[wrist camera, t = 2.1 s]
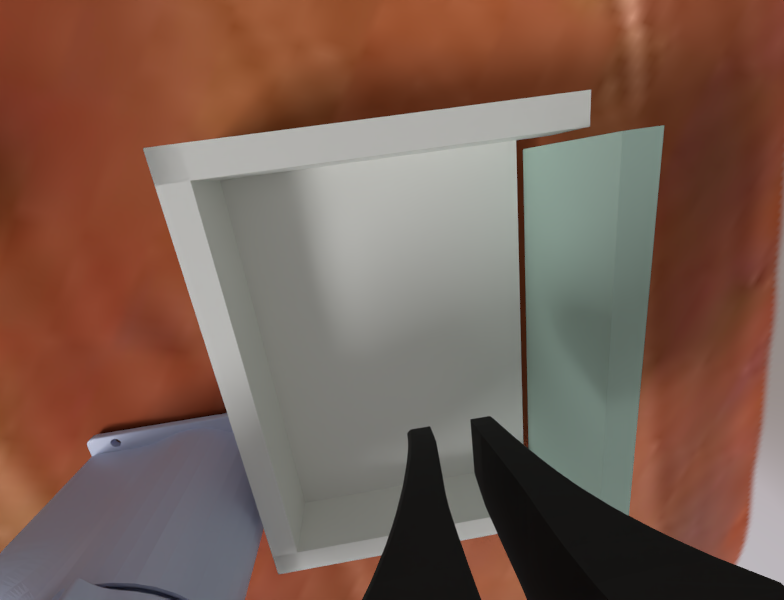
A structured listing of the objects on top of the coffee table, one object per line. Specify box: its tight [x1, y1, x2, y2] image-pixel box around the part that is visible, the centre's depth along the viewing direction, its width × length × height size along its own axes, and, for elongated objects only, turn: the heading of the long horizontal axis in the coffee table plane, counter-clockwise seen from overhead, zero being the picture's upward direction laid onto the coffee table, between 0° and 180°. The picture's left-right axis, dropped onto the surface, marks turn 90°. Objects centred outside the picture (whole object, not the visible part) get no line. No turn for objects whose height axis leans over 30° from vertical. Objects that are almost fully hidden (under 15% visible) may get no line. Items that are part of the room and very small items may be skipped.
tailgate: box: [523, 125, 664, 516], centre depth 16 cm, size 1×17×6 cm, turn 7°
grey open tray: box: [143, 90, 591, 574], centre depth 18 cm, size 16×20×4 cm
